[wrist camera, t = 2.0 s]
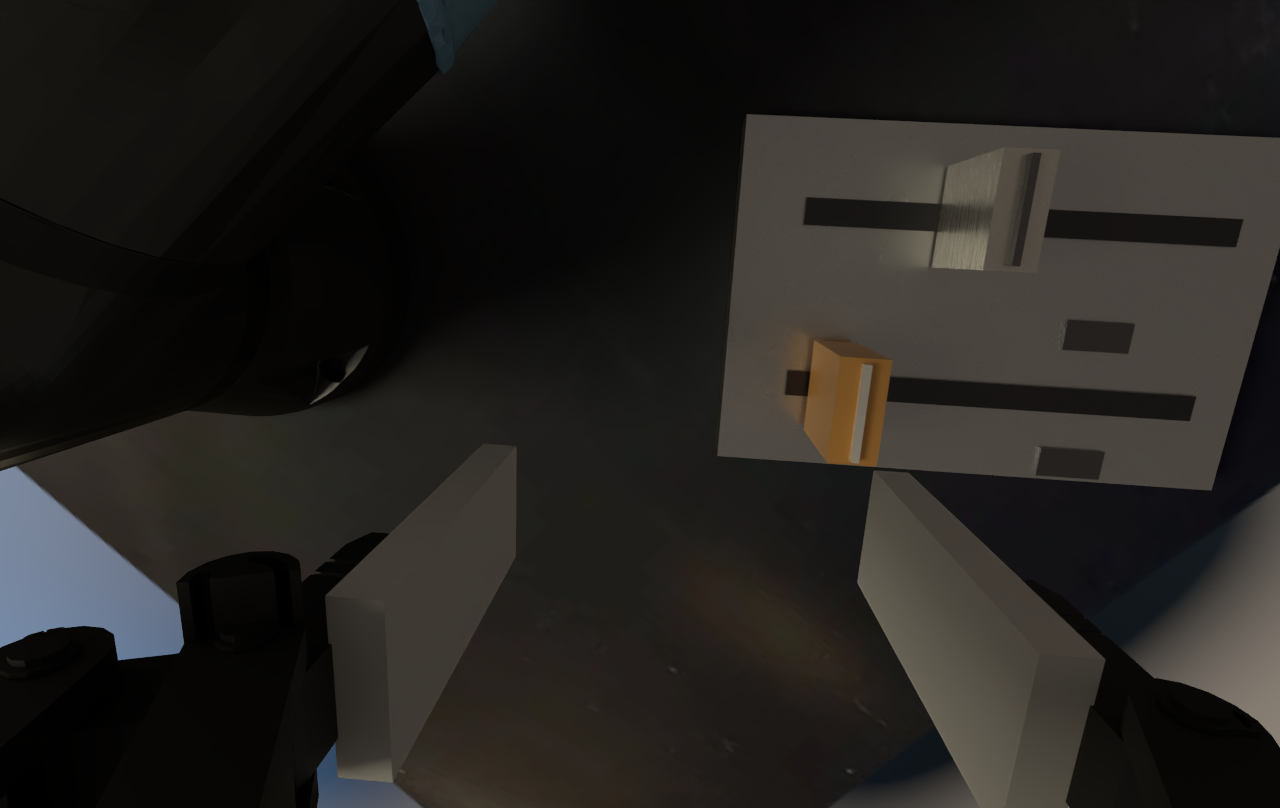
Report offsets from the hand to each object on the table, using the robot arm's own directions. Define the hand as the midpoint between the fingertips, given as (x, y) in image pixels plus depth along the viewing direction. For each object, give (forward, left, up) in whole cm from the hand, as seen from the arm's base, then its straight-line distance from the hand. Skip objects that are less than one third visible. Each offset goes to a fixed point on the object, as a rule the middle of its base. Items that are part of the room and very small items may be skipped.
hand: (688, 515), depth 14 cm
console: (+14, +4, -19) cm, 24 cm away
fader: (+7, 0, -17) cm, 18 cm away
